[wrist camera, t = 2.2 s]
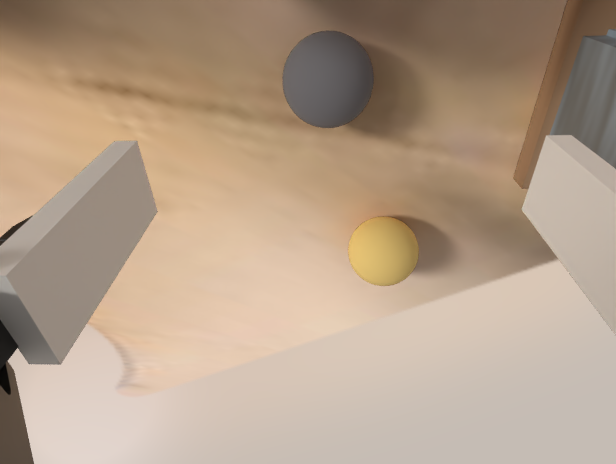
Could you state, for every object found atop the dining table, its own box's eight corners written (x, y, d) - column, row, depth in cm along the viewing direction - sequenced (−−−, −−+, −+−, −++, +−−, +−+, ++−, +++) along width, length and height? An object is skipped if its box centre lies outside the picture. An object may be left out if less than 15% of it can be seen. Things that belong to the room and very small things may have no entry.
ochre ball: (345, 256, 33) (348, 300, 28) (347, 203, 30) (351, 244, 26) (407, 255, 32) (419, 300, 28) (415, 203, 29) (430, 244, 25)
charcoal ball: (288, 111, 26) (282, 143, 22) (283, 24, 23) (275, 42, 19) (366, 110, 25) (375, 141, 21) (371, 22, 23) (382, 39, 18)
